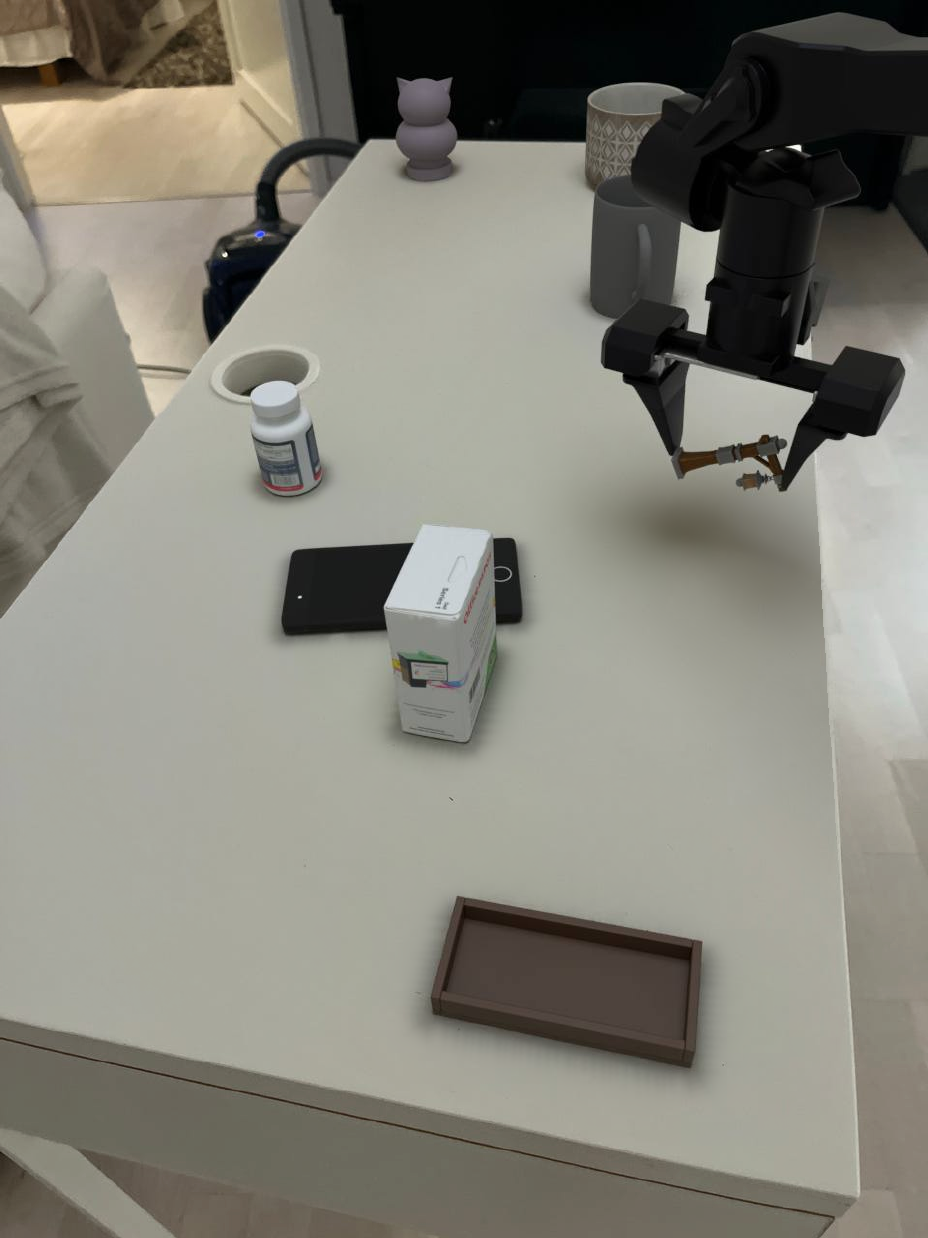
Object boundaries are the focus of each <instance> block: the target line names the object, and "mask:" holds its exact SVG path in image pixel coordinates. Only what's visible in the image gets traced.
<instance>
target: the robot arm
mask: <svg viewBox="0 0 928 1238" xmlns="http://www.w3.org/2000/svg"><path fill="white" fill-rule="evenodd" d="M685 93H686V94H682V95H678V96H674V97H670V98H666V99H664V100H663V101H662V111H661V119H659V120H658V121H657V122H656V123H655V124H654V125H653V126H652V127H651V128H650V129H649V130H648V132H647V133H646V134H645V136H644V137H643V139H642V141H641V143H640V145H639V147H638V149H637V152H636V155H635V157H634V158H633V159H632V162H631V182H632V185H633V189H634V191H635V192H636V194H637V195H638V197H639V198H640V199H642V200H643V201H644V202H646V203H648V204H650V205H651V206H653V207H655V208H657V209H659V210H661V211H663V212H664V213H666V214H668V215H670V216H672V217H674V218H675V219H677V220H679V221H681V223H683V224H685V225H687V226H688V227H690V228H692V229H693V230H696V231H698V232H702V233H713V232H716V231H719V234H718V241H717V248H716V255H715V263H714V269H713V278H711V279H710V281H709V282H707V284H706V285H705V293H704V302H709V308H708V316H707V322H706V323H707V324H706V331H705V333H700V332H697V331H691V330H688V329H689V321H690V314H689V313H688V311H687V309H686V308H683V307H679V306H675V305H671V304H670V305H667V304H662V303H658V302H654V301H649V300H645V299H639V300H638V301H637V302H635V303H634V304H633V305H632V306H630V307H629V308H628V309H627V310H626V311H625V312H624V313H623V314H622V315H621V316H620V317H619V318H616V320H615V321H613V322H612V323H611V325H610V326H608V327H607V328H606V329H605V332H604V334H603V337H602V339H601V345H600V346H601V347H600V364H601V365H602V367H603V369H606V370H609V371H612V372H617V373H621V374H622V375H621V379H622V382H623V383H624V384H626V385H629V386H631V387H633V389H634V390H635V392H636V393H637V395H638V397H639V399H640V400H641V402H642V404H643V405H644V406H645V408H646V410H647V411H648V414H649V416H650V417H651V419H652V421H653V423H654V426H655V428H656V431H657V433H658V434H659V437H660V439H661V441H662V444H663V446H664V447H665V450H666V452H667V454H668V456H670V457H672V456H673V454H674V452H675V451H676V449H677V447H681V445H682V439H683V435H684V434H683V433H684V423H685V422H684V419H685V401H686V384H687V383H686V382H687V375H688V374H689V373H688V372H689V369H690V365H694V366H698V367H703V368H705V369H710V370H713V371H717V372H721V373H726V374H729V375H733V376H737V377H741V378H745V379H749V380H753V381H761V382H765V383H769V384H773V385H777V386H782V387H785V388H789V389H793V390H797V391H802V392H805V393H809V394H812V395H813V396H812V398H811V402H812V403H811V404H810V406H809V408H808V409H807V410H806V412H805V413H804V414H803V416H802V417H801V419H800V420H799V422H798V423H797V425H796V428H795V431H794V436H793V438H792V441H791V445H790V448H789V451H788V454H787V458H786V460H785V464H784V468H783V469H784V471H783V474H782V481H781V489H784V490H787V491H788V489H789V488H790V485H791V484H792V483H793V481H794V480H795V478H796V476H797V475H798V473H799V472H800V470H801V468H803V465H804V464H805V462H807V460H808V458H809V457H810V456H811V455H812V454H813V453H814V452H815V451H816V450H817V449H818V448H819V447H820V446H821V445H822V444H823V443H824V442H825V441H826V440H831V441H837V442H839V441H843V440H844V439H846V438H847V436H848V434H850V435H853V436H858V437H860V438H867V437H875V436H877V434H878V432H879V430H881V429H880V428H881V427H882V425H883V424H884V422H885V421H886V418H887V417H888V415H889V414H890V412H891V410H892V408H893V407H894V405H895V403H896V402H897V400H898V398H899V397H900V393H901V390H902V387H903V383H904V380H905V377H906V368H905V365H904V364H903V362H902V360H901V358H900V357H897V356H894V355H893V356H892V355H889V354H883V353H880V352H875V351H871V350H866V349H862V348H858V347H854V346H850V345H845V346H844V347H843V349H842V350H841V352H839V354H838V356H837V357H836V359H835V360H834V362H833V363H825V362H822V361H817V360H813V359H809V358H804V357H800V356H796V355H795V354H796V350H797V346H805V345H806V343H807V342H808V341H809V339H810V338H811V333H812V327H813V328H815V327H817V326H818V323H819V320H820V316H821V312H822V309H823V306H824V303H825V299H826V295H827V292H828V289H829V286H830V283H831V279H830V278H828V277H825V276H822V275H816V264H817V263H816V262H814V261H815V256H816V251H817V247H818V241H819V238H820V237H819V236H820V232H821V227H822V222H823V217H824V212H825V208H826V207H830V206H833V205H837V204H839V203H842V202H843V203H844V202H846V201H849V200H853V199H856V198H858V197H859V195H860V194H861V191H862V189H861V188H862V187H861V185H860V183H859V181H858V179H857V177H856V175H855V173H853V171H851V170H850V169H849V168H848V167H847V165H846V164H845V162H844V160H843V158H842V153H841V151H840V150H839V149H838V148H837V149H836V148H835V149H832V150H828V151H824V152H821V153H817V154H814V155H811V154H808V153H807V152H803V151H802V150H798V149H796V148H793V147H794V146H798V145H803V144H808V143H813V142H818V141H822V140H827V139H832V138H835V137H840V136H841V137H842V136H846V135H853V134H858V133H863V134H864V133H865V134H881V135H890V136H891V135H892V136H905V137H907V136H908V137H920V138H928V37H927V36H926V37H923V36H921V37H920V36H919V37H918V36H916V35H915V36H914V35H910V34H905V33H902V32H900V31H898V30H897V29H895V28H894V27H893V26H892V25H890V24H889V23H888V22H886V21H883V20H879V19H876V18H875V19H874V18H869V17H865V16H862V15H861V16H860V15H856V14H852V13H847V12H841V11H840V12H839V11H837V12H833V13H827V14H824V15H819V16H815V17H811V18H806V19H801V20H797V21H792V22H789V23H784V24H779V25H774V26H770V27H766V28H761V29H757V30H752V31H748V32H746V33H742V34H740V35H739V36H738V37H736V38H735V39H734V40H733V41H732V43H731V46H730V51H729V53H728V55H727V57H726V60H725V63H724V66H723V69H722V71H721V72H720V74H719V75H718V76H717V78H716V79H715V81H714V82H713V84H712V86H711V87H710V88H709V90H708V92H707V93H706V94H705V96H704V98H703V99H702V97H699V96H697V95H694V94H692V93H690V92H685Z"/></svg>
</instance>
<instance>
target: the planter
mask: <svg viewBox="0 0 928 1238" xmlns="http://www.w3.org/2000/svg"><path fill="white" fill-rule="evenodd" d="M686 93H687V92H685V91H683V90H682V89H680V88H678V87H675V86H671V85H668V84H663V83H658V82H657V83H656V82H623V83H617V84H616V83H615V84H611V85H607V86H603V87H601V88H598V89H596V90H593V91H592V92H591V93H590V94H589V95H588V96H587V99H586V100H587V102H586V103H587V105H586V131H585V155H584V157H585V158H584V159H585V161H584V175H585V178H586V179H587V180H588V181H589V182H590V183H591V184H593V185H595V186H596V187H597V186H598V185H599V184H600V183H602V182H603V181H605V180H607V179H610V178H613V177H617V176H622V175H631V162H632V159H633V158H634V157H635V155H636V152H637V149H638V147H639V145H640V143H641V141H642V139H643V137H644V136H645V134H646V133H647V132H648V130H649V129H650V128H651V127H652V126H653V125H654V124H655V123H656V122H657V121H658V120H659V119H661V111H662V101H663V100H664V99H666V98H670V97H674V96H678V95H682V94H686Z"/></svg>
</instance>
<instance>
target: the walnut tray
mask: <svg viewBox="0 0 928 1238" xmlns="http://www.w3.org/2000/svg"><path fill="white" fill-rule="evenodd" d="M702 954H703V940H699V939H693V938H688V937H683V936H677V935H671V934H665V933H662V932H661V933H660V932H655V931H650V930H645V929H638V928H633V927H628V926H624V925H623V926H622V925H618V924H611V923H607V922H602V921H596V920H590V919H585V918H579V917H574V916H569V915H563V914H557V913H552V912H548V911H547V912H546V911H541V910H537V909H531V908H525V907H519V906H514V905H509V904H503V903H498V902H493V901H488V900H483V899H482V900H481V899H476V898H472V897H471V898H470V897H465V896H460V895H457V896H456V898H455V901H454V906H453V910H452V913H451V917H450V921H449V924H448V928H447V932H446V936H445V940H444V943H443V949H442V951H441V956H440V960H439V963H438V967H437V971H436V975H435V979H434V982H433V986H432V990H431V993H430V1002H431V1003H430V1004H431V1008H432V1014H433V1015H436V1016H437V1015H438V1016H443V1017H446V1018H447V1017H448V1018H452V1019H457V1020H461V1021H466V1022H472V1023H475V1024H480V1025H485V1026H489V1027H495V1028H500V1029H503V1030H510V1031H512V1032H518V1033H523V1034H528V1035H532V1036H536V1037H537V1036H538V1037H542V1038H545V1039H546V1038H547V1039H551V1040H557V1041H561V1042H566V1043H571V1044H576V1045H580V1046H586V1047H590V1048H595V1049H598V1050H603V1051H609V1052H614V1053H619V1054H624V1055H627V1056H633V1057H638V1058H643V1059H647V1060H652V1061H656V1062H660V1063H666V1064H669V1065H674V1066H675V1065H676V1066H680V1067H684V1068H689V1069H690V1068H691V1067H692V1064H693V1061H694V1058H695V1055H696V1047H697V1046H696V1045H697V1031H698V1015H699V1014H698V1013H699V1000H700V985H701V984H700V983H701V969H702Z"/></svg>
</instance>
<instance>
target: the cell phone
mask: <svg viewBox="0 0 928 1238" xmlns="http://www.w3.org/2000/svg"><path fill="white" fill-rule="evenodd" d="M413 544H414V542H403V543H402V542H398V543H384V544H382V543H381V544H365V545H347V546H344V545H343V546H330V547H329V546H328V547H327V546H326V547H310V548H299V549H298V548H297V549H295V550H293V551H292V553H291V555H290V559H289V566H288V572H287V579H286V585H285V592H284V598H283V603H282V605H283V606H282V610H281V611H282V612H281V619H280V621H281V622H280V623H281V626H282V630H283V632H284V633H286V634H292V633H304V632H320V631H321V632H323V631H340V630H358V629H359V630H360V629H376V628H377V629H379V628H380V629H381V628H387V625H386V619H385V612H384V605H385V603H386V601H387V599H388V596H389V594H390V592H391V590H392V588H393V586H394V584H395V582H396V579H397V577H398V575H399V573H400V571H401V569H402V567H403V565H404V562H405V560H406V558H407V556H408V554H409V552H410V550H411V548H412V546H413ZM493 552H494V582H495V612H496V622H505V621H506V622H507V621H509V622H510V621H511V622H512V621H513V622H514V621H515V622H516V621H520V620H521V619H522V618H523V601H522V591H521V590H522V589H521V583H520V582H521V580H520V569H519V561H518V560H519V559H518V551H517V543H516V540H515V539H514V538H513V537H493Z"/></svg>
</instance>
